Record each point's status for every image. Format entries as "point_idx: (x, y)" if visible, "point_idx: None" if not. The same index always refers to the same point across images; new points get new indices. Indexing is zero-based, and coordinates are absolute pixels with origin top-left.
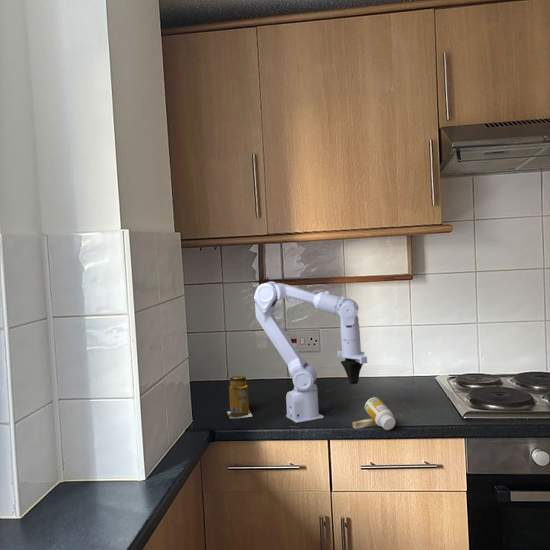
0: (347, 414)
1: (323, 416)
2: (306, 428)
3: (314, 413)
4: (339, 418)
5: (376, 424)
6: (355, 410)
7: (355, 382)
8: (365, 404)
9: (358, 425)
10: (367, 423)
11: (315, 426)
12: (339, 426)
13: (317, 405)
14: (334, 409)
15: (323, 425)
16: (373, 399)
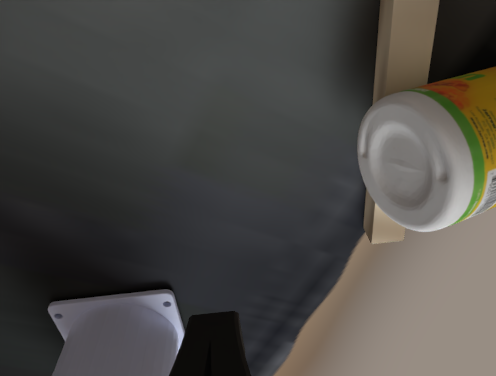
0: (140, 177)
1: (168, 295)
2: (272, 358)
3: (170, 342)
4: (198, 233)
5: None
6: (64, 105)
7: (242, 341)
8: (407, 227)
9: None
10: None
11: (265, 333)
12: (317, 267)
13: (144, 356)
14: (12, 204)
15: (268, 309)
16: (474, 206)
